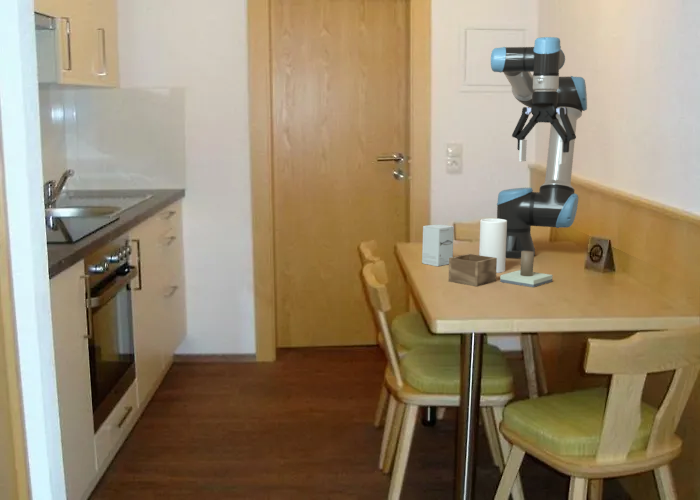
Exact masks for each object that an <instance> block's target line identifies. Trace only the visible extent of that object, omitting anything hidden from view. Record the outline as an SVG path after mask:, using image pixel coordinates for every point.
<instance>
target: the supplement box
mask: <svg viewBox="0 0 700 500" xmlns="http://www.w3.org/2000/svg"><path fill="white" fill-rule="evenodd" d="M454 230H455V229H454V226H453V225H447V224H429V225H423V226H422V253H421V254H422V255H421V257H422V258H421V263H422V264H425V265H427V266H428V265H429V266H434V267H440V266H441V267H442V266H446V265H449V258H452V257H454V255H453V254H454Z"/></svg>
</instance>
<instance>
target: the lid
mask: <svg viewBox="0 0 700 500" xmlns="http://www.w3.org/2000/svg"><path fill="white" fill-rule="evenodd" d="M534 257H535V255H534V252H533V251H521V258H520V269H519V270H514V271H511V272H507V273H504V274H501V275H500V279H502V280H508V281H514V282H520V283H527V284H533V285H534V284H537V283H541V282H544V281H547V280H551V279H552V280H553V274H549V273H542V272H541V273H540V272H537V271H536V272H534V260H535V259H534Z"/></svg>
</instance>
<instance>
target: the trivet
mask: <svg viewBox="0 0 700 500" xmlns="http://www.w3.org/2000/svg"><path fill="white" fill-rule="evenodd" d="M499 282H500V283H503V284H504V283H505V284H510V285H517V286H522V285H523V287H529V288H537V287H538V286H539V285H540V286H543V285H546V284H549V283H552V282H553V278H552V279H551V280H547V281H544V282H541V283H537V284H534V285H533V284H527V283H520V282H514V281H508V280H502V279H500V281H499ZM545 283H546V284H545ZM542 284H543V285H542Z"/></svg>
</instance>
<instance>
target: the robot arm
mask: <svg viewBox="0 0 700 500" xmlns="http://www.w3.org/2000/svg"><path fill="white" fill-rule="evenodd" d="M561 48H562V46H561V39H560V38H559V37H555V36H552V37H551V36H549V37H548V36H545V37H541V36H540V37H537V38H535V40H534V46H514V47H513V46H508V47H507V46H506V47H505V46H502V47H495V48H493V49H492V51H491V54H490V68H491V70H492V72H494V73H503V74H504V75H505V77H506V79H507V81H508V82H509V85H510V86H511V93H512V95H513V96H514V99H516V100H517V102H519V103H521V104H522V105H524V106H523V107H522V110H521V115H520V118H519V119H518V121H517V123H516V126H515V128H514V130H513V132H512V135H511V137H512V138H515V139H517V147H516V148H517V149H516V150H517V151H518V152H519V156H518V157H519V158H518V162H527V145H528V144H527V141H528V140H527V139H526V137H527V136H528V135H529V133H531V131H532V130H533V128H534V127H535V126H536V124H538V123H544V124H545V123H546V124H547V123H549V124H550V130H549V138H548V139H549V140H548V149H547V150H548V151H547V160H546V168H545V169H546V170H545V178H544V183H543V184H541V185H540V186H539V191H538V192H537V191H534V190H533V188H532V187H516V188H509V189H503V190H501V191H499V193H498V195H497V203H496V219H504V220H507V234H506V259H521V251H533V252H534V256H535V254H536V249H535V245H534V242H533V238H532V234H531V228H532V227H533V226H534V227H545V228H556V229H559V228H570V227H571V226H572V225H573V224H574V222H575V219H576V215H577V213H578V212H577V211H578V203H579V194H577V193H575V188H574V187H573V186H572V184H571V182H572V173H573V162H574V160H573V159H574V152H575V141H576V139H577V136H576V129H577V121H578V119H580V118H581V117H582V115H583V112H585V111H587V109H588V98H587V94H588V93H587V85H586V84H587V83H586V80H585V78H584V77H582V76H573V75H570V76H560V70H561V69H562V68H563V66H565V63H566V56H565V52H564V51H563V50H562V49H561ZM530 115H532V116H531V117H530V119H529V116H530ZM528 119H529V121H528ZM527 121H528V122H527ZM526 123H527V124H526Z"/></svg>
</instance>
